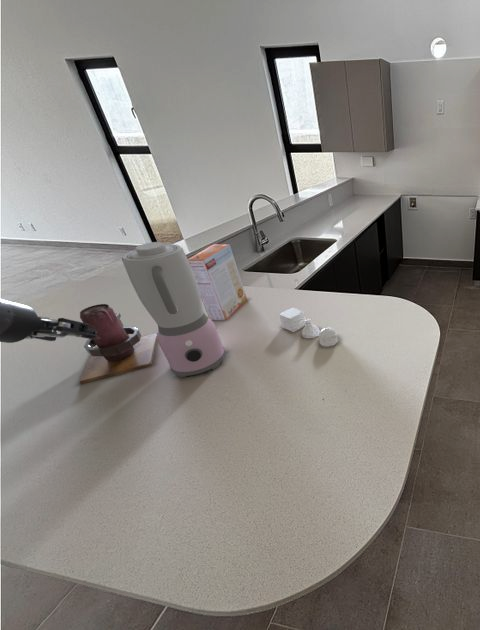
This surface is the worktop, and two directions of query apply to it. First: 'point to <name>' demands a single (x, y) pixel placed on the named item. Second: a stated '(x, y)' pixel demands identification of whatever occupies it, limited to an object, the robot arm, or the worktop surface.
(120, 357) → the can
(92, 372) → the stand
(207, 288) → the cracker box
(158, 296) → the blender
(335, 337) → the container set
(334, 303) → the worktop surface
